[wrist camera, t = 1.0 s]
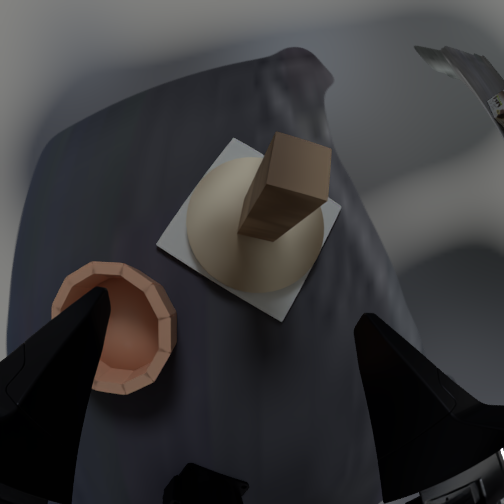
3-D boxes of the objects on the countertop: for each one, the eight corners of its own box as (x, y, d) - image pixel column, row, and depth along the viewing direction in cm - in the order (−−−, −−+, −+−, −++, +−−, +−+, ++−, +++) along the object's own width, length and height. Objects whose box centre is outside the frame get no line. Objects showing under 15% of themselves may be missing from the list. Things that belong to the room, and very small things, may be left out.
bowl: (197, 308, 21) (196, 310, 17) (145, 395, 19) (134, 416, 15) (108, 248, 21) (88, 237, 16) (62, 335, 19) (36, 341, 14)
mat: (339, 208, 25) (341, 206, 25) (280, 321, 22) (282, 322, 22) (233, 139, 24) (233, 137, 24) (156, 245, 21) (156, 244, 21)
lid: (325, 180, 25) (391, 120, 14) (310, 303, 23) (391, 305, 12) (205, 148, 23) (213, 60, 13) (172, 276, 21) (145, 257, 10)
